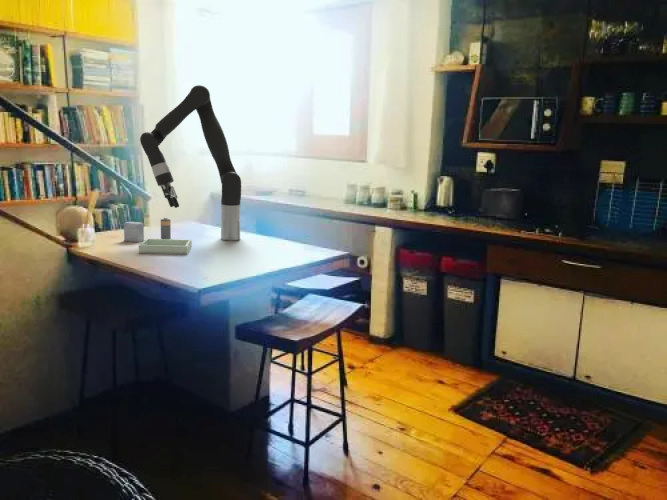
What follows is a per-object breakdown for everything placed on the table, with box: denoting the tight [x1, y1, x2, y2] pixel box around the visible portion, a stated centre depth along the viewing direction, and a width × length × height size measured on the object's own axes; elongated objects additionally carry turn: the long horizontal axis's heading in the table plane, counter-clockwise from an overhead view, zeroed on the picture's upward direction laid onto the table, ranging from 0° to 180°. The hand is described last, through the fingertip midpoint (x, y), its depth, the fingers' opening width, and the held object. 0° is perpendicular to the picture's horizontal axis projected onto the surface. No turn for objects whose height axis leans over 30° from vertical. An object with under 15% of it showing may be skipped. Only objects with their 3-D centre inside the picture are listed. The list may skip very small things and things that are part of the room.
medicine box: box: [123, 221, 145, 243], centre depth 263 cm, size 8×4×9 cm, turn 74°
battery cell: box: [160, 217, 172, 239], centre depth 262 cm, size 4×4×12 cm
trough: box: [138, 238, 193, 255], centre depth 247 cm, size 20×15×4 cm
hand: (175, 206), depth 262 cm, fingers open, 8 cm apart
